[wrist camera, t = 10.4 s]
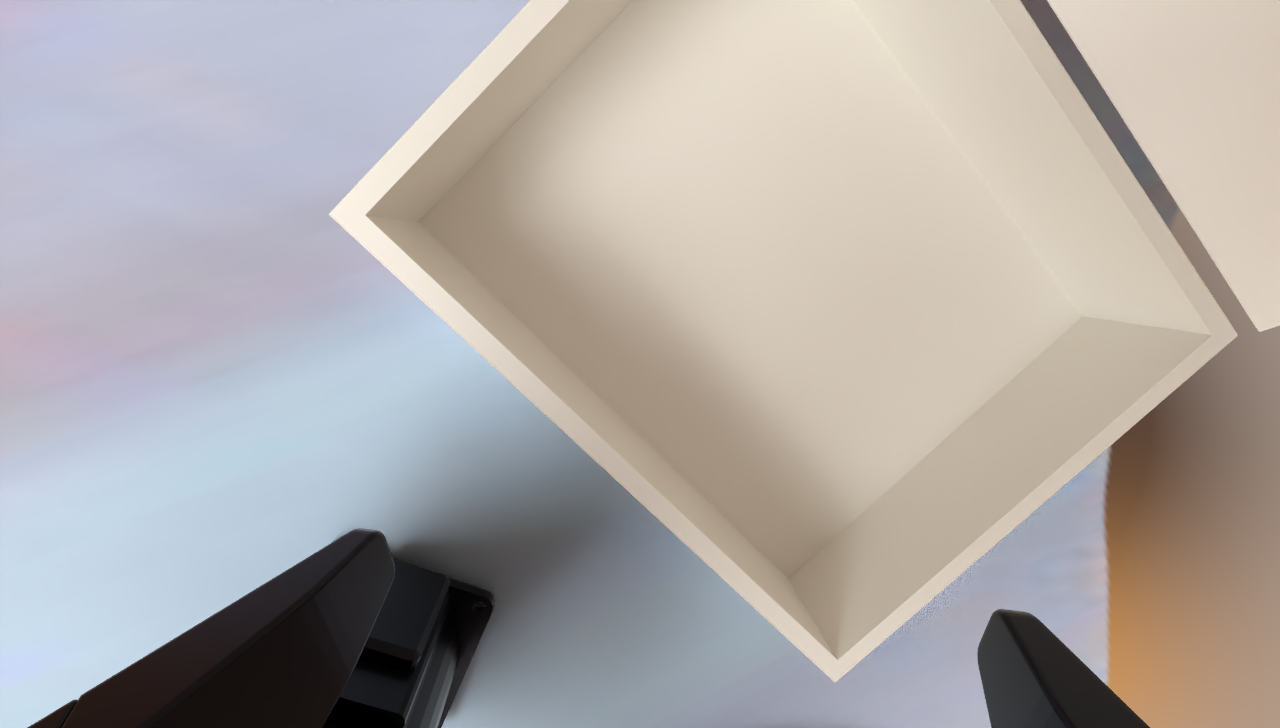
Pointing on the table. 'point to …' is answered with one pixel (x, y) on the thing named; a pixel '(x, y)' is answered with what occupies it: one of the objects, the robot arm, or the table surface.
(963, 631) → the table surface
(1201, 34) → the box flap
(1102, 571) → the table surface
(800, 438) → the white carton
